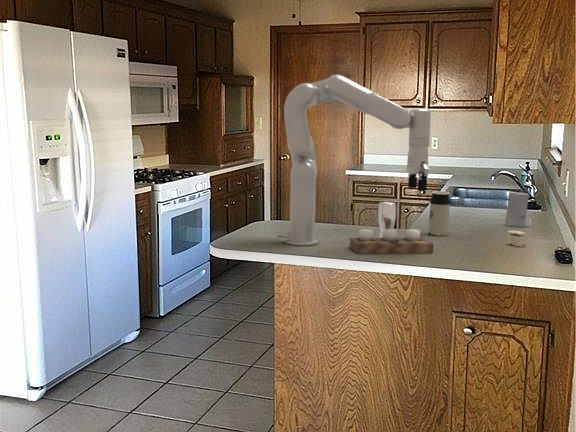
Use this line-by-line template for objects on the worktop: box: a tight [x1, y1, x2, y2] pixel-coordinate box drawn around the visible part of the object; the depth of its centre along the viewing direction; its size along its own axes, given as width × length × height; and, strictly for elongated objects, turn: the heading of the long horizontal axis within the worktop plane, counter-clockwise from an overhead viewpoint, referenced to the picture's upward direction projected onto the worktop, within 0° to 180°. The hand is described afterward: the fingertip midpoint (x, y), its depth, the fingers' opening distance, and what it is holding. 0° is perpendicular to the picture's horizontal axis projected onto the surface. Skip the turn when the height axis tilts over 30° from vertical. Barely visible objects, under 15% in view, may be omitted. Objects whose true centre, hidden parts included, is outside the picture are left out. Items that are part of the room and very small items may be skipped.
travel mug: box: [428, 190, 451, 236], centre depth 269 cm, size 8×8×18 cm
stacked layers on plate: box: [506, 229, 527, 247], centre depth 251 cm, size 10×9×6 cm
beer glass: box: [377, 201, 397, 238], centre depth 252 cm, size 7×7×15 cm
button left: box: [358, 228, 374, 241], centre depth 234 cm, size 5×5×4 cm
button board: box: [349, 237, 434, 255], centre depth 234 cm, size 28×12×4 cm, turn 98°
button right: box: [405, 228, 421, 241], centre depth 237 cm, size 5×5×4 cm
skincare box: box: [504, 191, 530, 228], centre depth 297 cm, size 8×7×16 cm
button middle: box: [383, 228, 398, 241], centre depth 235 cm, size 5×5×4 cm
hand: (417, 189), depth 236 cm, fingers open, 9 cm apart
